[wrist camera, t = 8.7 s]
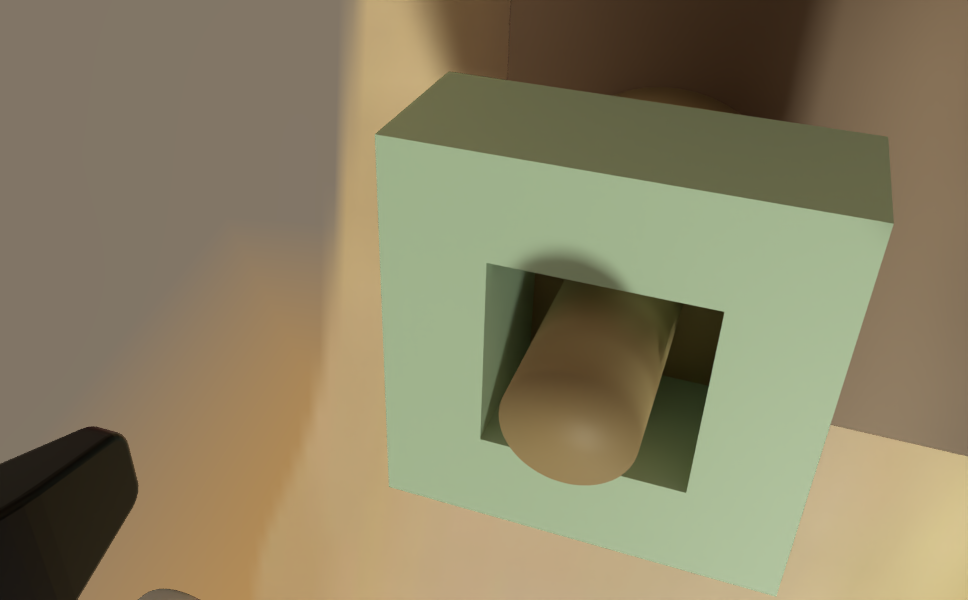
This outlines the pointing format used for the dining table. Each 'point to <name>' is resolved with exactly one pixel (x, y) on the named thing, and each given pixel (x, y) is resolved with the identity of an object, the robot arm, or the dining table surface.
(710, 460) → the collar
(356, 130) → the dining table surface
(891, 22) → the stand
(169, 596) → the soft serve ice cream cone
